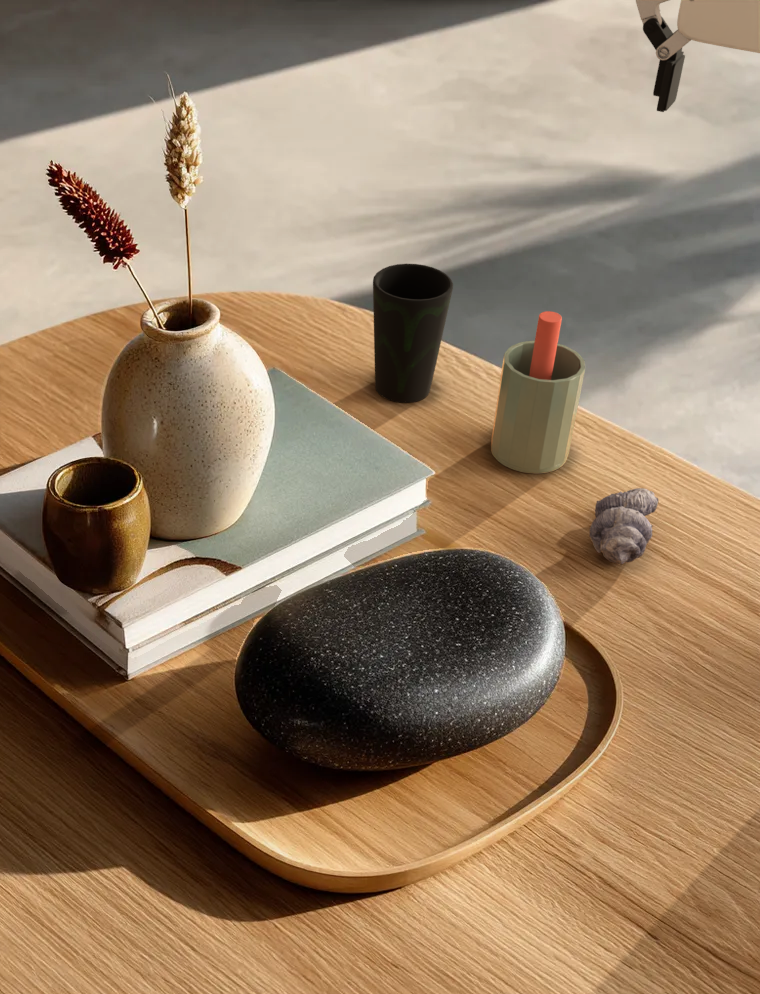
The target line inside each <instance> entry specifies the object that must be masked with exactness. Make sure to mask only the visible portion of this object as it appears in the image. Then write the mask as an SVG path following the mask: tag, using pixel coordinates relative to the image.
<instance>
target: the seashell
mask: <svg viewBox="0 0 760 994" xmlns="http://www.w3.org/2000/svg"><path fill="white" fill-rule="evenodd" d="M655 495H656V494H655V492H654V491H652V490H649V489H648V488H643V487H637V488H633V489H628V490H627V491H623V492H622V491H619V492H616V493H611V494H609V495H607V496H604V497H603V498H601V499H599V500H596V502H595V506H594V507H595V508H594V517H595V518H594V519H593V520H592V522H591V524H590V527H589V530H588V531H589V535H588V536H589V538H590V540H591V542H592V545H593V548H594V549H595V551H596V552H597V553H599V554H600V553H602V556H603V557H604V558H605V559H606V560H607V561H609V563H613V564H620V565H623V564H624V563H631V562H634V561H635V560H637V559H638V558H641V557H642V556H643V555H644V553H645V551H646V547H647V544H648V543H649V541H650V540H651V539H652V537H653V524H651V522H650V521H649V519H648V518H647V516H649V515H651V514H653V513H655V512H656V510H657V507H658V505H659V498H658V497H656V496H655Z"/></svg>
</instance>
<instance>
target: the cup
mask: <svg viewBox="0 0 760 994" xmlns="http://www.w3.org/2000/svg"><path fill="white" fill-rule="evenodd" d="M453 290H454V283H453V281H452V278H451V277H450V276H449V275H448V274H446V273H445V272H444V271H442V270H440V269H439V268H436V267H433V266H430V265H426V264H420V263H398V264H393V265H389V266H386V267H383V268H381V269H380V270H378V271H377V272H376V273H375V274H374V276H373V279H372V302H373V303H372V306H373V309H372V310H373V347H374V348H373V351H374V352H373V353H374V355H373V357H374V388H375V391H376V393H377V394H378V395H379V396H381V397H382V398H384V399H386V400H388V401H390V402H395V403H401V404H402V403H403V404H410V403H416V402H420V401H422V400H424V399H426V398H427V397H428V396H429V394H430V393H431V389H432V388H431V387H432V384H433V379H434V375H435V371H436V366H437V361H438V358H439V353H440V352H439V351H440V349H441V348H440V347H441V343H442V340H443V335H444V330H445V325H446V321H447V318H448V314H449V313H448V311H449V308H450V303H451V299H452V295H453Z"/></svg>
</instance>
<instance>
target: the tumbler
mask: <svg viewBox="0 0 760 994" xmlns="http://www.w3.org/2000/svg"><path fill="white" fill-rule="evenodd" d="M534 343H535V339H534V340H527V341H526V340H525V341H519V342H518V343H515V344H513V345H511V346H509V347H508V349H506V351H505V352H504V353H503V359H502V366H501V371H500V379H499V384H498V385H499V386H498V393H497V398H496V399H497V400H496V406H495V413H494V418H493V426H492V431H491V438H490V441H491V443H490V451H491V454H492V456H493V458H494V459H495V460H496V461H497V462H498V463H499V464H501V465H502V466H504V467H506V468H509V469H511V470H514V471H516V472H520V473H525V474H535V475H536V474H546V473H547V474H548V473H552V472H555V471H556V470H559V469H560V468H562V467H563V466H564V465H565V463H566V462H567V460H568V456H569V454H570V450H571V444H572V439H573V434H574V429H575V424H576V420H577V419H576V418H577V415H578V414H577V413H578V408H579V402H580V397H581V393H582V389H583V382H584V379H585V378H584V377H585V372H586V363H585V359H584V358H583V357H582V356H581V355H580V354H579V352H578V351H576V350H574V349H572V348H570V347H569V346H567V345H565V344H561V343H559V342H558V343H557V349H556V355H555V360H554V366H553V372H552V377H551V380H545V379H537V378H534V377H530V376H529V373H530V367H531V361H532V355H533V349H534Z"/></svg>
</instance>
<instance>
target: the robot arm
mask: <svg viewBox="0 0 760 994" xmlns="http://www.w3.org/2000/svg"><path fill="white" fill-rule="evenodd" d="M669 1H670V0H635V4H636V7H637V11H638V14H639V18H640V21H641V22H642V31H643V33H644V35H645V36H646V38H647V39H648V41H649V43H650V44H651V45H652V47H653V48H654V50H655V55H656V58H657V59H659V61H658V67H657V72H656V77H655V81H654V87H653V93H652V95H653V96H654V97H658V100H657V105H656V112H661V113H664V112H667V111H668V110H669V108H671V107H672V105H673V104H674V103H675V102H676V100H677V96H678V91H679V87H680V82H681V77H682V72H683V68H684V63H685V58H686V55H685V54H684V51H683V47H685V46H686V45H687V44H689V43H690V42H691V41H694V42H698V43H702V44H707V45H712V46H718V47H723V48H729V49H734V50H739V51H745V52H750V53H757V54H760V0H680V3H679V9H678V12H677V13H678V14H677V21H676V26H677V29H676V30H675V31H674V32H673V31H672V29H671V28H670V26H669V24H668V23H667V22H666V21H665V19H664V17H663V16H662V15H661V9H660V6H661V5H660V4H662V3H665V2H669Z"/></svg>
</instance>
